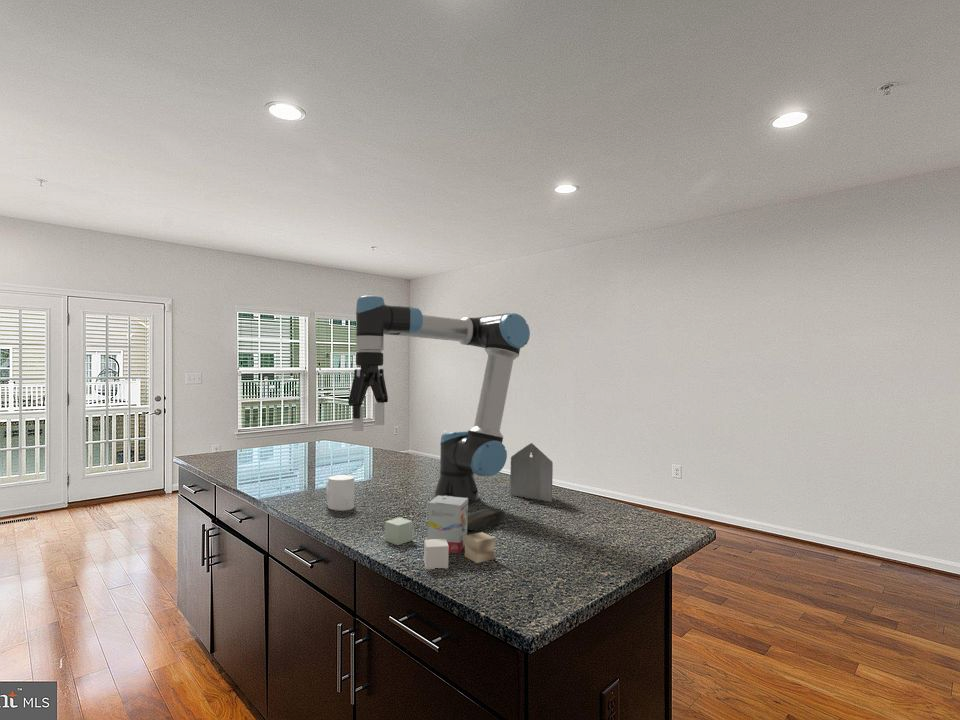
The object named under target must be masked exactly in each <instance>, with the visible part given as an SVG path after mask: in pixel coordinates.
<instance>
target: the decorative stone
mask: <svg viewBox="0 0 960 720" xmlns="http://www.w3.org/2000/svg"><path fill="white" fill-rule="evenodd" d="M505 516H506V514H505V511H503V510H502V509H500V508H485V509H479V510H477V511H474V512H472V513H468V517H467V531H468V530H469V531H473V532H474V531H475V532H477V531H483V530H486V529H490V528H493V527H494V526H496V525H497V524H500V523H502V522H503V521H504V519H505Z"/></svg>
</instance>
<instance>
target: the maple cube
mask: <svg viewBox="0 0 960 720" xmlns="http://www.w3.org/2000/svg"><path fill="white" fill-rule="evenodd" d="M464 557H465V558H466V557H467V558H466V559H469V560H470V561H472V562H474V563H475V564H479V563H483V562H486V561H491V560H495V537H494V536H492V535H489V534H487V533H485V532H476V533H471V534H467V535H466V536H465V546H464Z"/></svg>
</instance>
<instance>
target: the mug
mask: <svg viewBox="0 0 960 720" xmlns="http://www.w3.org/2000/svg"><path fill="white" fill-rule="evenodd" d="M325 489H326V496H327V497H326V504H327V509H330V510H332V511H350V510H353V509H354V508H355V498H354V497H355V493H356V492H355V491H356V490H355V476H354V475H350V474H339V475H337V474H336V475H331V476H329V477H328V480H327V483H326V486H325Z"/></svg>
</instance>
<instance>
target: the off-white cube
mask: <svg viewBox="0 0 960 720" xmlns="http://www.w3.org/2000/svg"><path fill="white" fill-rule="evenodd" d="M423 543H424V544H423V545H424V546H423V562H424V563H425V564H424V567H425V570H436V569H435V568H444V569H449V546H448V543H447V540H446V539H428V540H427V539H424V542H423Z"/></svg>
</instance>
